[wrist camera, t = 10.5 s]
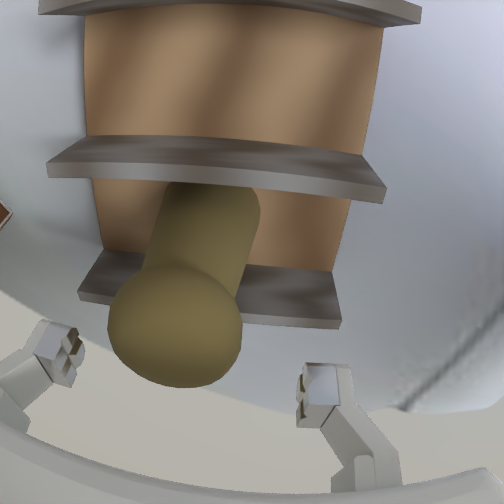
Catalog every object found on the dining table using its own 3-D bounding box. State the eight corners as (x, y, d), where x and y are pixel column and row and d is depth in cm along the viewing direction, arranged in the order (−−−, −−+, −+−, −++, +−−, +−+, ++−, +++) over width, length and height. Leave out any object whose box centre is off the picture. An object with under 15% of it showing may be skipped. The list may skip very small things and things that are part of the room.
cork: (172, 254, 21) (120, 399, 12) (153, 170, 18) (57, 301, 9) (263, 251, 21) (256, 409, 12) (257, 161, 17) (242, 306, 9)
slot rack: (378, 16, 13) (421, 7, 8) (326, 270, 23) (338, 329, 18) (96, 5, 13) (39, -1, 8) (111, 248, 23) (80, 300, 18)
